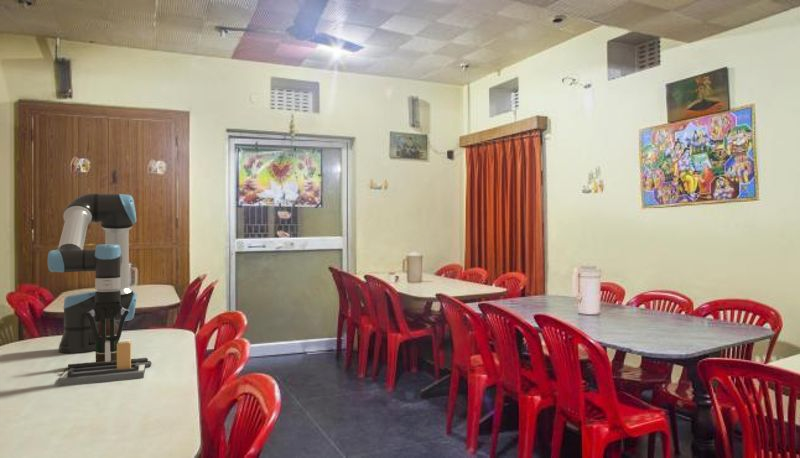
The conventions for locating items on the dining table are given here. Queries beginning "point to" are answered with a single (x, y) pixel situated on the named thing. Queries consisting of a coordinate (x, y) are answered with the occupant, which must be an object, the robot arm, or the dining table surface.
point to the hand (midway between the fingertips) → (107, 360)
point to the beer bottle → (99, 354)
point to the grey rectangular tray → (101, 374)
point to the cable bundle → (106, 364)
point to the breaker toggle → (124, 354)
